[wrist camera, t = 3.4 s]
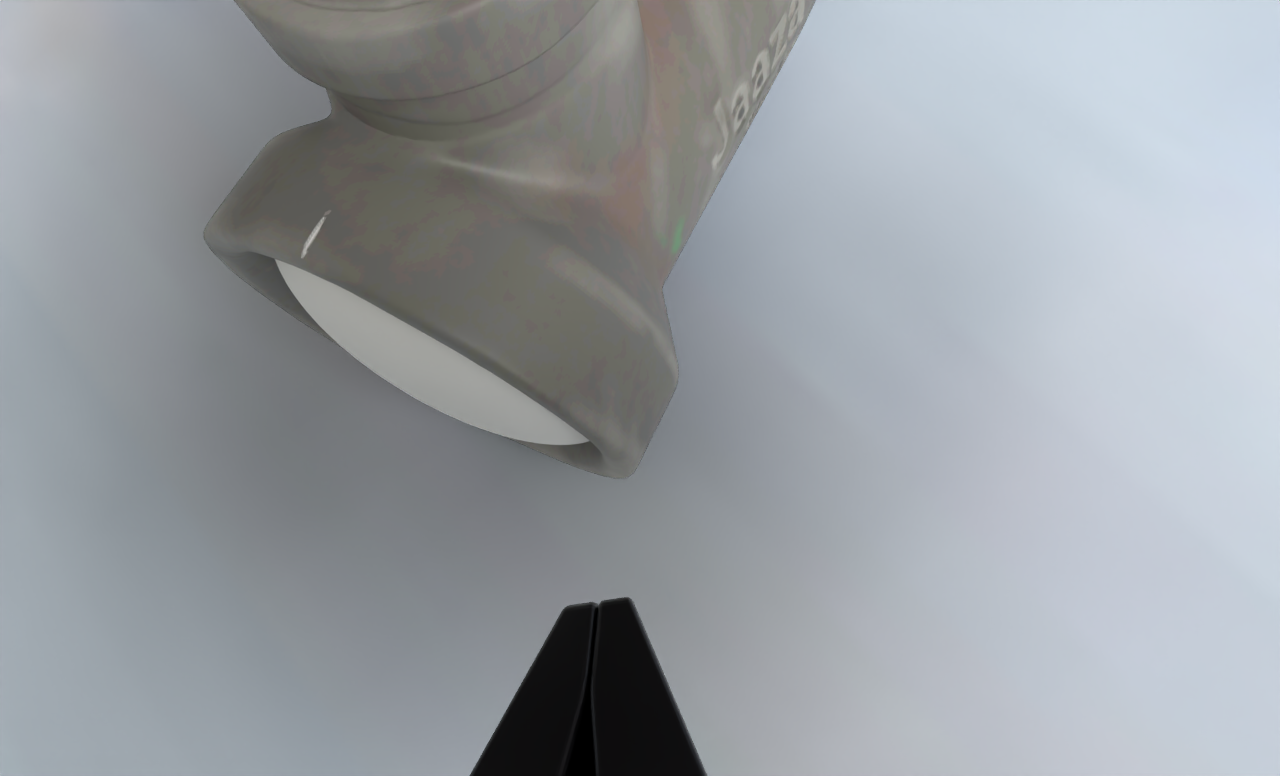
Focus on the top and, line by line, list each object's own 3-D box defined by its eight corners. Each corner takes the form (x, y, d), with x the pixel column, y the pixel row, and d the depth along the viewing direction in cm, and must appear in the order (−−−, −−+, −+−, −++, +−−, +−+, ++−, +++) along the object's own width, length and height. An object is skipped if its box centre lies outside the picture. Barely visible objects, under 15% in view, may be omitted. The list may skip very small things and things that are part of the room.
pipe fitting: (645, 536, 16) (482, 360, 7) (347, 378, 19) (-95, 77, 9) (879, 91, 19) (1001, -488, 9) (594, -1, 21) (458, -544, 12)
